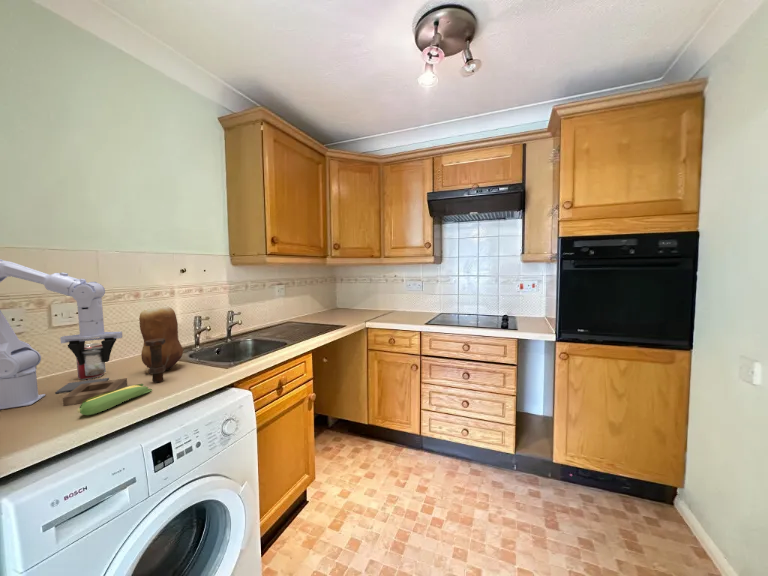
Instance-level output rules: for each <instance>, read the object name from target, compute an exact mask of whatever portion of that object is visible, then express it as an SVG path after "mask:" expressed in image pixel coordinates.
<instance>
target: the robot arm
mask: <svg viewBox="0 0 768 576" xmlns="http://www.w3.org/2000/svg"><path fill="white" fill-rule="evenodd" d="M8 277H12V278H17V279H19V280H25V281H29V282H33V283H36V284H40V285H43V286H44V288H45V289H46V290H47V291H50V292H54V293H57V294H61V295H64V296H68V297H70V298H71V297H72V298H73V300H75V301H76V306H77V316H78V327H79V328H78V330H79V334H72V335H71V334H70V335H63V336H60V338H59V339H60V344H66V343H68V344H67V348H68V349H69V350H70V352H72V353H73V355H74V356H75V357H76V358H77V360H78V362H79V365H83V364H84V354H82V352H81V350H83V349H84V346H85V343H86V342H88V341H89V342H90V341H99V340H101V342H100V344H101V345H102V347H103V352H104V362H105V363H108V362H109V361H110V358H111V354H112V353H111V352H112V351H113V348H114V345H115V343H116V341H117V340H119V339H122V338H123V331H105V325H104V324H105V322H104V310H103V300H102V299H103V297H104V296H105V293H106V290H105V287H104V285H102V284H101V283H99V282H97V281H90V282H87V280H86V279H85V278H76V277H74V276H70V275H69V273H66V272H60V273H59V272H54V273H51V274H49V273H46V272H42V271H41V270H37V269H35V268H31V267H27V266H26V265H22V264H19V263H16V262H13V261H9V260H3V259H0V283H2V282H3V281H4V280H5V279H7V278H8ZM41 362H42V355H41V353H40V352H39V351H38V350H36V349H35V348H33V347H32V346H31V345H30V344H29V343H28V342H26V341H23V340H20V339H19V337H18V336H17V334H16V333H15V330H14V329H13V328H12V326H11V324H10V323H9V321H8V320H7V318H6V316H5V314H3V312H2V310H1V309H0V410H4V409H12V408H18V407H19V408H21V407H25V406H26V407H27V406H32V405H33V404H35V403H37V401H39V400H41V399H42V398H44V397H45V396H46V393H43V394H39V390H38V389H39V388H38V378H37V377H38V376H37V370H38V369H37V366H39V364H41Z"/></svg>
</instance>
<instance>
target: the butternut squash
mask: <svg viewBox="0 0 768 576" xmlns="http://www.w3.org/2000/svg"><path fill="white" fill-rule="evenodd" d="M138 318H139V329H140V334H141V336H142V339H143V345H142V350H141V355H140V356H141V361H142V363H143V364H144V365H145V366H146V367H147V368H148V369H149V368H150V367H152V366H151V352H150V346H145V342H146V341H147V340H151V339H160V338H162V339H165V343H164V344H163V345H162V348H161V353H162V365H165V367H166V369H165V371H168V370H171V369H172V368H174V366H175V365H176V364H177V363H178V362H179V361H180V359H182V357H183V354H184V348H183V346H182V344H181V341H180V340H179V330H178V329H179V325H178V319H177V315H176V312H175V310H174V309H173V308H172V307H170V306H163V307H157V308H147V309H144V310H142V311H141V312H140V313H139V317H138Z"/></svg>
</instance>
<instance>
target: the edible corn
mask: <svg viewBox="0 0 768 576" xmlns="http://www.w3.org/2000/svg"><path fill="white" fill-rule="evenodd" d="M152 391H153V389H152V388H149V386H146V385H145V384H144V383H139V384H133V385H130V386H126V387H125V388H122V389H118V390H114V391H111V392H108V393H104V394H101V395H98V396H95V397H92V398H89V399H87V400H85V401H84V402H83V403H80V405H79V407H78V408H77V410H76V412H77V413H78V414H81V415H83V416H93V415H97V413H98V414H99V413H102V411H104V412H105V411H106V410H107V409H108V410H109V409H111V408H114V407H116V405H117V406H118V405H121V404H123V403H125V402H128V401H129V400H128V399H130V400H133V399H135V398H138V397H140V396H142V395H145V394H148V393H149V392H152ZM131 398H132V399H131ZM126 400H127V401H126ZM124 401H125V402H124ZM122 402H123V403H122Z"/></svg>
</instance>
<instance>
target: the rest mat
mask: <svg viewBox="0 0 768 576" xmlns="http://www.w3.org/2000/svg"><path fill="white" fill-rule="evenodd" d="M109 380H110V377H104V378H94V379H89V380H81V381H75V382H74V381H73V382H72V381H71V382H68V383H66V384H65V385H64V386H62V387H61V388H59V389H58V390H56V391H55V394H56V395H57V394H64V393H70V392H71V391H73V390H74V389H75V388H77V387H78V386H79V385H81V384H86V383H94V382H101V381H109Z"/></svg>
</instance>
